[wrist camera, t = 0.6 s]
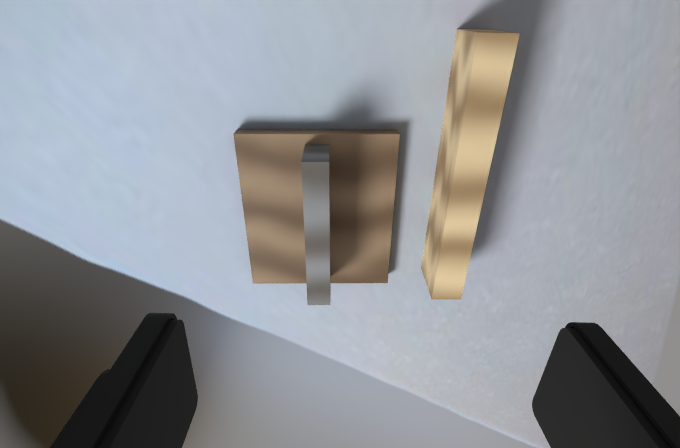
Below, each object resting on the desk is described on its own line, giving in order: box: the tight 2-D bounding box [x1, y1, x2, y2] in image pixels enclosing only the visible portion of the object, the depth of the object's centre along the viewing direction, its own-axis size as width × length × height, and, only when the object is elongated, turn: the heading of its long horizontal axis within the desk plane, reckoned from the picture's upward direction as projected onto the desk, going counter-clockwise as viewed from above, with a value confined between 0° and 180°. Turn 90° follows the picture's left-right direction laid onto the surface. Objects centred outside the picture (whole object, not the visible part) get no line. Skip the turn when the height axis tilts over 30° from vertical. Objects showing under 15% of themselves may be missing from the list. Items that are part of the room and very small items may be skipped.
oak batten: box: [421, 29, 520, 299], centre depth 38 cm, size 26×3×6 cm, turn 179°
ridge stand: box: [234, 130, 400, 305], centre depth 40 cm, size 18×16×6 cm
